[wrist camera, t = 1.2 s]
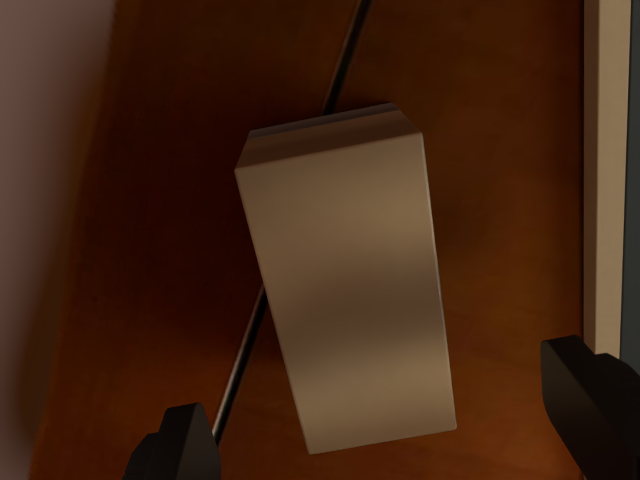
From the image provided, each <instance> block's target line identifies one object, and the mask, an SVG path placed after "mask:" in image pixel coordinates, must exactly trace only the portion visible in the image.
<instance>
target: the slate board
mask: <svg viewBox="0 0 640 480" xmlns="http://www.w3.org/2000/svg"><path fill="white" fill-rule="evenodd" d="M584 343H585V344H586V345H587V346H588V347H589V348H590V349H591V351H592V352H593V353H594V354H595V355H596V354H601V353H608V354H610V355H612V356H614V357H616V358H618V359H620V360H621V361H623V362H625V363H627V364H629V365H630V366H631V367H632V368H633V369H634V370H635V371H636V372H637V373H638V375H639V376H640V0H584ZM583 480H587V479H586V477H585V476H584V474H583Z"/></svg>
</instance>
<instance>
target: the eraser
mask: <svg viewBox="0 0 640 480" xmlns="http://www.w3.org/2000/svg"><path fill="white" fill-rule="evenodd" d="M234 173H235V177H236V181H237V184H238V188H239V192H240V196H241V200H242V203H243V207H244V211H245V215H246V219H247V222H248V226H249V230H250V234H251V238H252V242H253V245H254V249H255V253H256V257H257V261H258V264H259V268H260V272H261V276H262V280H263V283H264V287H265V291H266V295H267V299H268V302H269V306H270V310H271V314H272V318H273V322H274V325H275V329H276V333H277V337H278V341H279V344H280V348H281V352H282V356H283V360H284V363H285V367H286V371H287V375H288V379H289V382H290V386H291V390H292V394H293V398H294V402H295V405H296V409H297V413H298V417H299V421H300V424H301V428H302V432H303V436H304V440H305V443H306V447H307V451H308V453H309V454H317V453H322V452H328V451H334V450H340V449H346V448H352V447H357V446H363V445H369V444H375V443H381V442H386V441H392V440H398V439H404V438H410V437H415V436H421V435H427V434H433V433H439V432H444V431H450V430H455V429H456V427H457V424H456V416H455V407H454V399H453V390H452V382H451V373H450V364H449V356H448V347H447V339H446V330H445V322H444V313H443V305H442V296H441V288H440V279H439V271H438V262H437V253H436V245H435V236H434V228H433V219H432V211H431V202H430V194H429V185H428V177H427V168H426V159H425V151H424V142H423V135H422V133H421V132H420V131H419V130H418V129H417V128H416V127H415V126H414V125H413V124H412V123H411V122H410V121H409V120H408V119H407V118H406V117H405V116H404V115H403V114H402V113H401V112H400V110H399V109H398V108H397V107H396V106H395V105H394V104H393V103H386V104H381V105H376V106H371V107H366V108H361V109H356V110H351V111H346V112H341V113H336V114H331V115H326V116H321V117H316V118H311V119H306V120H301V121H296V122H291V123H286V124H281V125H276V126H271V127H266V128H261V129H256V130H251V131H250V132H249V135H248V137H247V139H246V143H245V145H244V148H243V150H242V153H241V155H240V157H239V160H238V162H237V164H236V167H235V169H234Z"/></svg>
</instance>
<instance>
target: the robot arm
mask: <svg viewBox="0 0 640 480" xmlns="http://www.w3.org/2000/svg"><path fill="white" fill-rule="evenodd" d="M541 373H542V395H543V401H544V405H545V409H546V412H547V414H548V417H549V419H550V421H551V423H552V425H553V426H554V428H555V429H556V431H557V433H558V434H559V436H560V437H561V439H562V441H563V442H564V444H565V445H566V447H567V449H568V450H569V452H570V453H571V455H572V457H573V458H574V460H575V461H576V463H577V465H578V466H579V468H580V469H581V471H582V473H583V474H584V476H585V477H586V479H587V480H640V376H639V375H638V373H637V372H636V371H635V370H634V369H633V368H632V367H631V366H630V365H629V364H627V363H625V362H623V361H621V360H620V359H618V358H616V357H614V356H612V355H610V354H608V353H601V354H596V355H595V354H594V353H593V352H592V351H591V349H590V348H589V347H588V346H587V345H586V344H585V343H584V341H583V340H582V339H581V338H580V337H579V336H577V335H572V336H566V337H561V338H555V339H550V340H544V341H542V343H541ZM122 480H221V461H220V455H219V451H218V448H217V445H216V442H215V439H214V437H213V434H212V431H211V428H210V425H209V422H208V419H207V416H206V413H205V411H204V408H203V406H202V404H201V403H199V402H198V403H193V404H187V405H182V406H176V407H171V408H168V409H167V410H166V412H165V414H164V417H163V420H162V423H161V426H160V429H159V432H157V433H152V434H147V435H146V437H145V438H144V439H143V440H142V441H141V443H140V444H139V445H138V446H137V448H136V449H135V450H134V451H133V452H132V455H131V457H130V460H129V463H128V465H127V468H126V470H125V475H124V476H123V478H122Z"/></svg>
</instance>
